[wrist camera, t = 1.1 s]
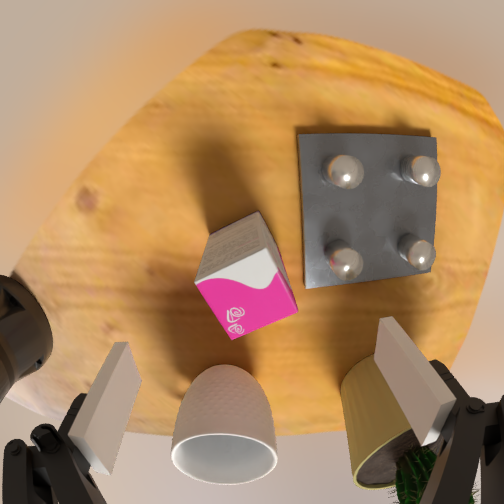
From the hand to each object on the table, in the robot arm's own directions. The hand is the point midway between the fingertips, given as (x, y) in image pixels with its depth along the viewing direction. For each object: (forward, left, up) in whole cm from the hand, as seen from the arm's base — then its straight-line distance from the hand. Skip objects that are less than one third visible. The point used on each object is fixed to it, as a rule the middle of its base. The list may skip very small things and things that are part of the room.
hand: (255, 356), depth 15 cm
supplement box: (0, 0, -18) cm, 18 cm away
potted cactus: (+17, -22, -18) cm, 33 cm away
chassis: (+14, +3, -18) cm, 23 cm away
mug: (-5, -19, -18) cm, 27 cm away
